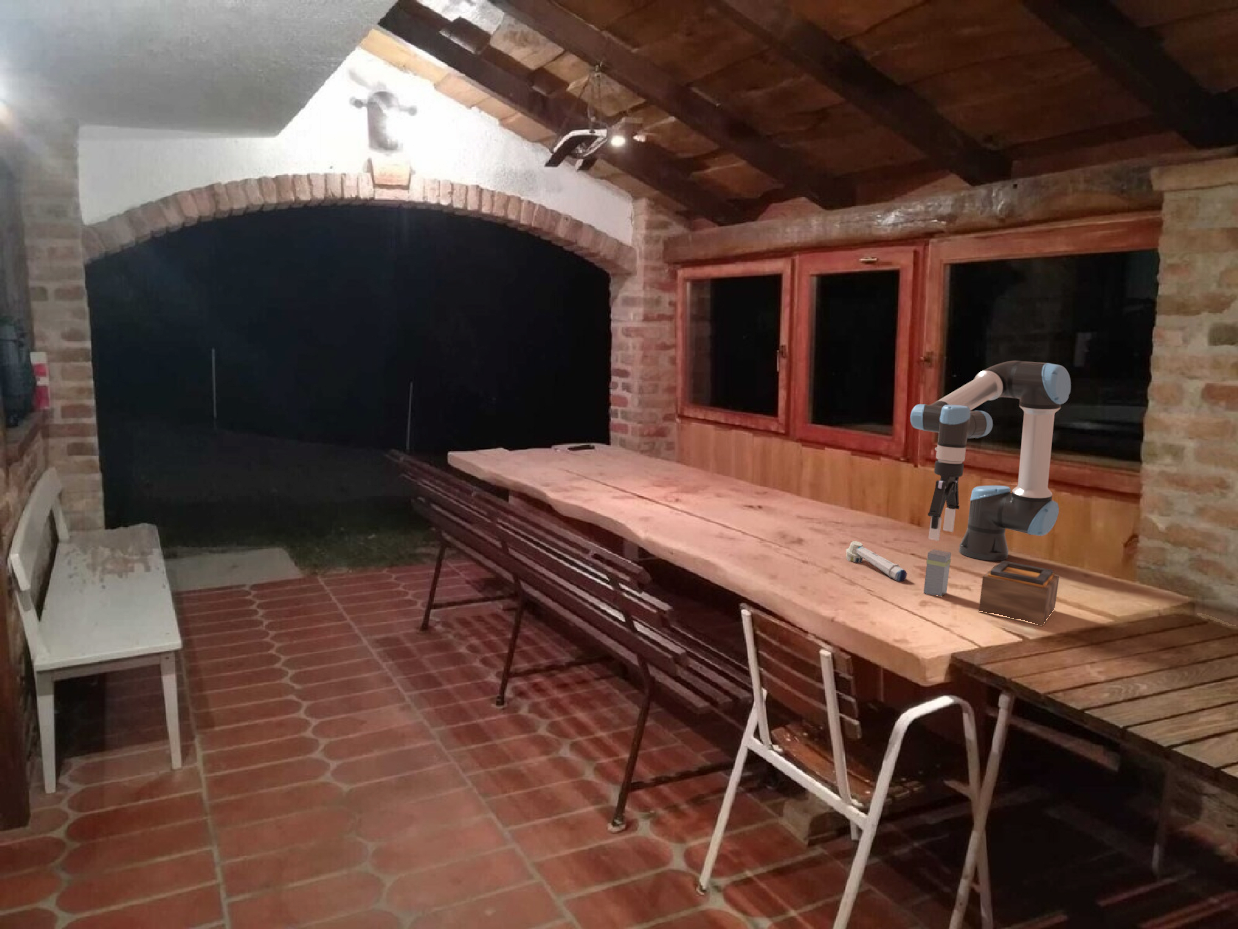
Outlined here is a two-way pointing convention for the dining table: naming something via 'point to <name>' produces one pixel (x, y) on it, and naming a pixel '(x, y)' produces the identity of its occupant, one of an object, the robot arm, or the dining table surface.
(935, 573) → the steel column
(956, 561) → the dining table surface
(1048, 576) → the walnut stand
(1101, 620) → the dining table surface
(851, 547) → the white plastic rod
